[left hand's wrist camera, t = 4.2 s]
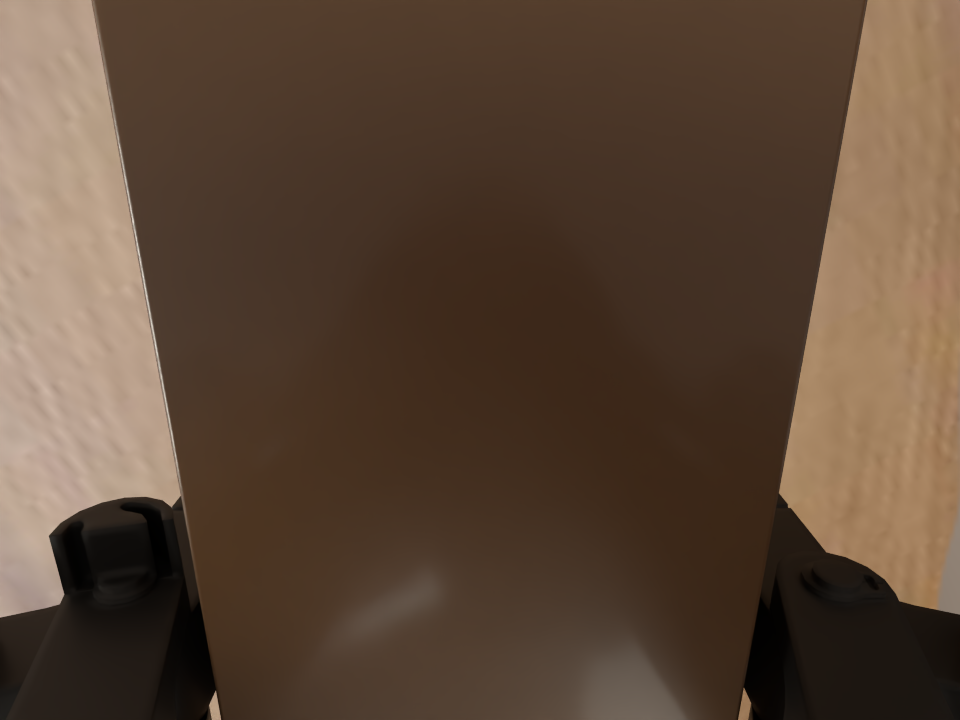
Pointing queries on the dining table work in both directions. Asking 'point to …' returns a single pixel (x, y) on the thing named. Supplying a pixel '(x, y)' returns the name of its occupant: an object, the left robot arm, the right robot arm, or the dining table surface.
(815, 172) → the bar
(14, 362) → the dining table surface
